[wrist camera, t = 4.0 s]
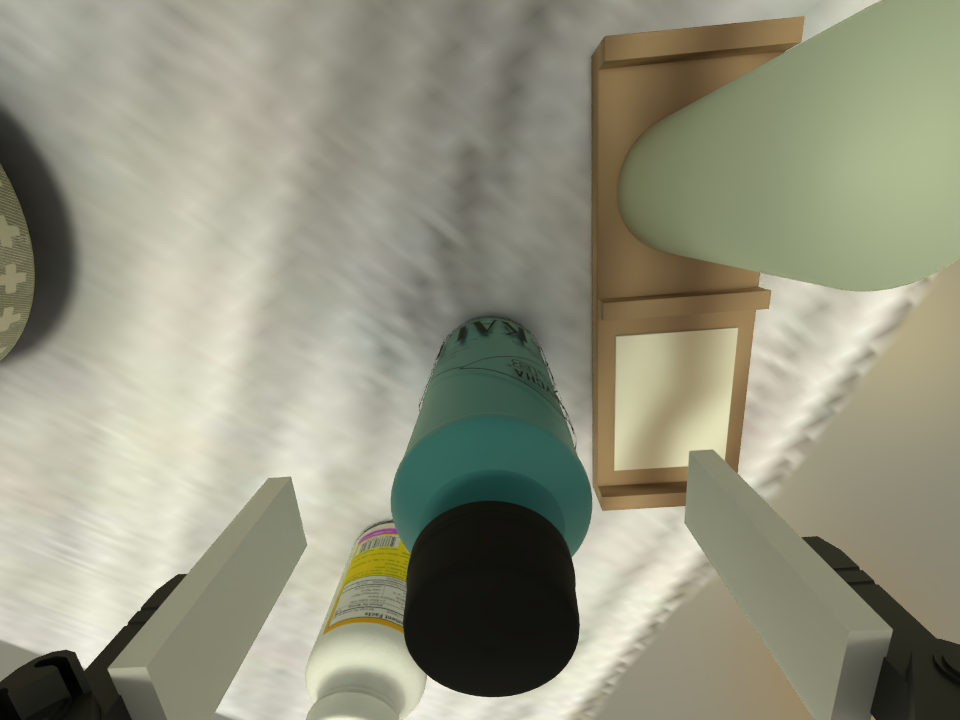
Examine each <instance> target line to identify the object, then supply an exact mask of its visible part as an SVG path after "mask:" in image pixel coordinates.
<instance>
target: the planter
mask: <svg viewBox="0 0 960 720" xmlns="http://www.w3.org/2000/svg"><path fill="white" fill-rule="evenodd" d="M34 284H35V269H34V255H33V250H32V244H31V238H30V234H29V231H28V227H27V223H26V219H25V217H24V214H23V211H22V208H21V205H20V203H19V200H18V198H17V196H16V193H15V191H14V189H13V187H12V184H11V182H10V180H9V178H8V177H7V175H6V173H5V171H4V169H3V168H2V166H1V164H0V361H1V360H2V359H3V358H4V357H5V356H6V355H7V354H8V353H9V352H10V351H11V349H12V348H13V347H14V346H15V344H16V343H17V341H18V339H19V338H20V336H21V334H22V332H23V330H24V328H25V325H26V323H27V321H28V318H29V314H30V310H31V307H32V302H33V295H34Z"/></svg>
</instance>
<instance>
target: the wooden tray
mask: <svg viewBox="0 0 960 720" xmlns="http://www.w3.org/2000/svg"><path fill="white" fill-rule="evenodd" d="M803 25H804V16H803V17H793V18H783V19H773V20H763V21H753V22H743V23H733V24H723V25H713V26H703V27H693V28H683V29H673V30H663V31H653V32H643V33H633V34H623V35H613V36H605V37H604V38H603V40H602V41H601V43H600V44H599V46H598V47H597V49H596V50H595V52H594V53H593V55H592V324H593V488H594V490H595V493H596V495H597V498H598V501H599V503H600V506H601V508H602V511H606V510H623V509H641V508H658V507H675V506H686V492H687V477H688V462H689V451H695V450H711V449H713V450H714V451H715V452H716V453H717V454H718V455H719V456H720V457H721V458H722V459H723V460H724V461H725V462H726V463H727V464H728V465H729V466H730V467H731V468H732V469H733V470H734V471H735V472H736V473H737V472H738V463H739V454H740V445H741V436H742V428H743V419H744V410H745V401H746V392H747V383H748V374H749V365H750V356H751V348H752V339H753V330H754V321H755V312H756V310H758V309H769V304H770V296H771V290H767V289H764V288H760V287H758V285H759V276H760V272H755V271H751V270H746V269H741V268H737V267H732V266H727V265H722V264H718V263H713V262H708V261H703V260H699V259H694V258H689V257H685V256H680V255H675V254H670V253H666V252H661V251H658V250H655V249H652V248H650V247H648V246H646V245H645V244H643V243H641V242H640V241H639V240H638V239H637V238H635V236H634V235H633V234H632V233H631V232H630V231H629V229H628V228H627V226H626V225H625V223H624V220H623V218H622V216H621V213H620V210H619V205H618V195H617V189H618V179H619V174H620V171H621V168H622V165H623V162H624V160H625V158H626V156H627V154H628V152H629V150H630V149H631V147H632V146H633V144H634V143H635V142H636V140H637V139H638V138H639V137H640V136H641V135H642V134H643V133H644V132H645V131H646V130H647V129H649V128H650V127H651V126H652V125H654V124H655V123H657V122H659V121H660V120H662V119H664V118H666V117H667V116H669V115H671V114H673V113H675V112H677V111H678V110H680V109H682V108H684V107H686V106H688V105H689V104H691V103H693V102H695V101H697V100H699V99H700V98H702V97H704V96H706V95H708V94H710V93H711V92H713V91H715V90H717V89H719V88H721V87H722V86H724V85H726V84H728V83H730V82H732V81H733V80H735V79H737V78H739V77H741V76H743V75H744V74H746V73H748V72H750V71H752V70H754V69H755V68H757V67H759V66H761V65H763V64H765V63H766V62H768V61H770V60H772V59H774V58H776V57H777V56H779V55H781V54H783V53H785V51H786V50H788V49H790V48H791V47H793V46H795V45H797V44H799V43H801V41H802V33H803Z"/></svg>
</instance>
